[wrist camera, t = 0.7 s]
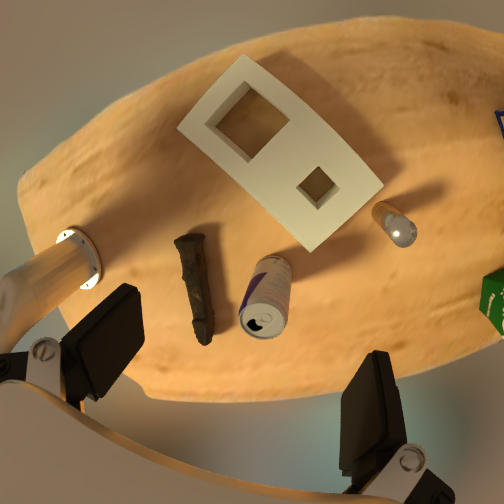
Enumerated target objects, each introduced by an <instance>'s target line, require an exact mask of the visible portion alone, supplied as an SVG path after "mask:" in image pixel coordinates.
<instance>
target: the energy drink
mask: <svg viewBox="0 0 504 504" xmlns="http://www.w3.org/2000/svg"><path fill="white" fill-rule="evenodd" d="M291 280H292V270H291V267H290V265H289V263H288V262H287V261H286V260H284V259H283V258H281V257H278V256H267V257H264V258H262V259H261V260H260V261H259V262H258V263H257V264H256V267H255V269H254V272H253V275H252V278H251V280H250V283H249V286H248V288H247V291H246V294H245V296H244V299H243V302H242V304H241V307H240V310H239V323H240V326H241V328H242V329H243V331H244V332H245V333H246V334H248V335H249V336H251V337H253V338H256V339H261V340H267V339H272V338H275V337H277V336H278V335H280V334H281V332H282V331H283V329H284V328H285V326H286V324H287V321H288V311H289V301H290V291H291Z"/></svg>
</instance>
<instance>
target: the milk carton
mask: <svg viewBox="0 0 504 504" xmlns="http://www.w3.org/2000/svg"><path fill="white" fill-rule="evenodd" d="M495 114H496V117H497V120H498V123H499V126H500V129H501V132H502V135H503V138H504V108H503V109H500V110H498V111H495Z"/></svg>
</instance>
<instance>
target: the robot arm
mask: <svg viewBox="0 0 504 504" xmlns="http://www.w3.org/2000/svg"><path fill="white" fill-rule="evenodd" d="M100 277H101V263H100V259H99V256H98V253H97V250H96V249H95V246H94V245H93V243H92V242H91V240H90V239H89V238H88V237H87V236H86V235H85V234H84V233H83V232H81V231H80V230H77V229H75V228H69V229H66V230H64V231H62V232H61V233H60V235H59V236H58V239H57V243H56V244H55V245H53V246H51V247H50V248H48V249H46V250H44V251H43V252H41V253H39V254H37V255H36V256H34V257H33V258H31V259H29V260H27V261H26V262H24V263H23V264H21V265H19V266H18V267H16V268H15V269H13V270H12V271H10V272H9V273H7V274H6V275H5V276H4V277H3V278H2V279H1V281H0V504H454V503H455V494H454V491H453V490H452V489H451V488H450V487H449V486H448V485H447V484H445V483H444V482H443V481H442V480H441V479H439V478H438V477H437V476H436V475H435V474H433V473H432V472H431V471H430V470H428V469H427V465H428V456H427V453H426V451H425V450H424V449H423V448H422V447H421V446H420V445H417V444H415V443H407V437H406V430H405V423H404V417H403V411H402V405H401V399H400V394H399V390H398V387H397V386H396V384H395V379H394V374H393V370H392V365H391V361H390V356H389V353H388V352H384V351H378V350H374V351H373V352H372V353H368V354H367V356H366V358H365V359H364V361H363V363H362V364H361V366H360V368H359V369H358V371H357V372H356V374H355V375H354V377H353V379H352V380H351V382H350V383H349V385H348V386H347V388H346V389H345V391H344V392H343V394H342V397H341V433H340V457H339V469H340V470H342V476H347V477H348V476H349V477H352V480H351V481H352V484H351V485H350V486H349V487H348V488H347V489H346V490H345V491H344V492H343V493H342V494H335V493H320V492H310V491H301V490H292V489H285V488H278V487H272V486H267V485H261V484H256V483H252V482H247V481H243V480H238V479H235V478H231V477H227V476H223V475H220V474H216V473H213V472H209V471H206V470H203V469H200V468H197V467H194V466H191V465H188V464H186V463H183V462H180V461H177V460H175V459H172V458H170V457H167V456H165V455H162V454H160V453H158V452H155V451H153V450H151V449H149V448H146V447H144V446H142V445H140V444H138V443H136V442H134V441H132V440H129V439H128V438H126V437H124V436H122V435H120V434H118V433H116V432H114V431H112V430H111V429H109V428H107V427H105V426H104V425H102V424H100V423H99V422H97V421H95V420H94V419H92V418H90V417H89V416H87V415H85V412H84V404H83V400H84V398H85V397H86V396H87V397H88V398H90V399H92V400H93V401H95V402H96V401H97V400H98V399H99V398H102V397H104V396H105V395H106V393H107V392H108V390H109V389H110V387H111V386H112V385H113V384H114V382H115V381H116V380H117V378H118V377H119V376H120V374H121V373H122V372H123V371H124V369H125V368H126V367H127V365H128V364H129V363H130V361H131V360H132V359H133V357H134V356H135V355H136V353H137V352H138V351H139V350H140V348H141V347H142V346H143V344H144V341H145V336H144V327H143V317H142V306H141V295H140V292H139V291H138V289H137V287H135V286H132V285H129V284H127V283H123V284H121V285H120V286H119V287H118V288H117V289H116V290H115V291H113V292H112V293H111V294H110V295H109V296H108V297H107V298H105V299H104V300H103V301H102V302H101V303H100V304H99V305H98V306H96V307H95V308H94V309H93V310H92V311H91V312H90V313H89V314H88V315H86V316H85V317H84V318H83V319H82V320H81V321H80V322H79V323H78V324H77V325H76V326H75V327H74V328H72V329H71V330H70V331H69V332H68V333H67V334H66V335H65V336H64V337H63V338H62V339H61V340H62V341H61V342H60V343H58V341H56V340H55V339H53V338H50V337H44V338H40V339H38V340H36V341H35V342H34V343H33V344H32V345H31V347H30V350H29V351H26V352H16V353H11V351H12V350H13V348H14V347H15V346H16V344H17V343H18V342H19V341H20V339H21V338H22V337H23V336H24V335H25V334H26V333H27V332H28V331H29V330H30V329H31V328H32V327H33V326H35V325H36V324H37V323H38V322H39V321H40V320H41V319H43V318H44V317H45V316H46V315H47V314H48V313H49V312H51V311H52V310H53V309H54V308H55V307H57V306H58V305H59V304H60V303H61V302H63V301H64V300H65V299H66V298H67V297H69V296H70V295H71V294H72V293H74V292H75V291H76V290H77V289H79V288H83V289H90V288H92V287H94V286H95V285H96V284H97V283H98V282H99V280H100Z"/></svg>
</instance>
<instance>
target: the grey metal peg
mask: <svg viewBox="0 0 504 504" xmlns="http://www.w3.org/2000/svg"><path fill="white" fill-rule="evenodd" d="M372 217H373V219H374V220H375V221H376V222H377V223H378V225H379V226H380V227H381V228H382V229H383V230H384V231H385V233H386V234H387V235H388V236H389V237H390V238H391V240H392V241H393V242H394V243H395V244H396V245H397V246H398V247H402V248H405V247H408V246H410V245H412V244H413V243H414V241H415V240H416V237H417V228H416V226H415V224H414V223H413V222H411V221H410V220H409V219H408V218H406V217H405V216H404V215H403V214H401V213H400V212H399V211H397V210H396V209H395V208H394V207H392V206H391V205H390V204H388V203H387V202H383V201H381V202H378V203H376V204H375V205H374V207H373V209H372Z"/></svg>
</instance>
